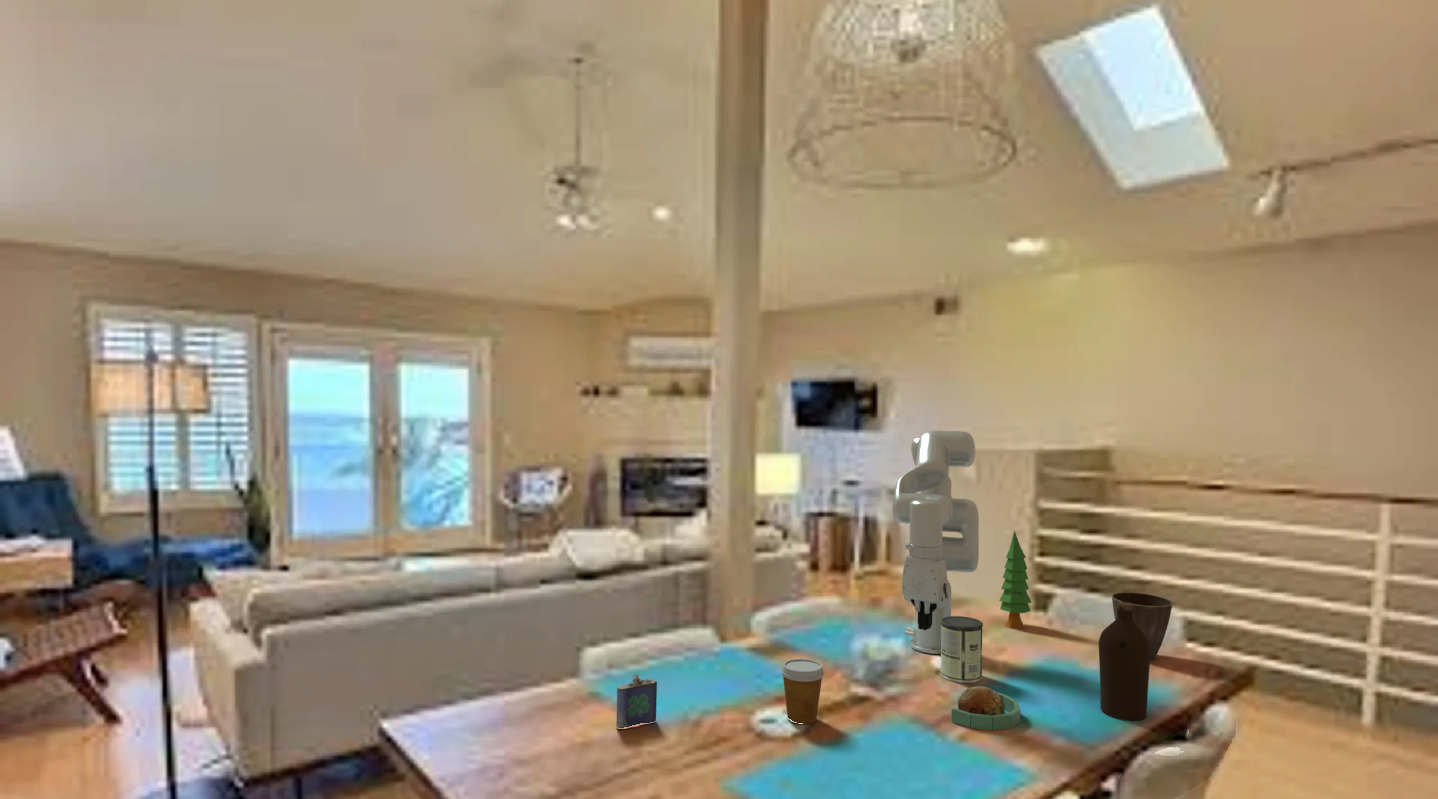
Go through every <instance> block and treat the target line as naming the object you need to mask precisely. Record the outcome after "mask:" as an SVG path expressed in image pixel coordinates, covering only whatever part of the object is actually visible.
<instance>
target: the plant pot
mask: <svg viewBox="0 0 1438 799" xmlns="http://www.w3.org/2000/svg"><path fill="white" fill-rule="evenodd" d="M1111 602H1112V609H1113V615H1114V621H1115V620H1116V618H1117V608H1118V606H1117V603H1118V602H1129V603H1132V604H1133V607H1132V610H1133V621H1134V622H1135V624H1136V625H1137V626H1138V627H1139V628H1140V629H1141V630H1142V631H1143V632H1144V634H1145V635H1146V636H1147V638H1148V640H1149V643H1150V647H1151V656H1150V661H1154V660H1155V659H1156V657H1157V655H1158V653H1159V651H1160V649H1161V646H1162V644H1163V642H1164V638H1165V635H1166V633H1167V629H1168V626H1169V622H1170V618H1171V614H1172V608H1173V603H1174V602H1172V600H1170V599H1168V598H1165V597H1164V596H1163V597H1162V596H1158V595H1155V594H1147V593H1140V592H1124V591H1123V592H1115V593H1113V594H1111Z"/></svg>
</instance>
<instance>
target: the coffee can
mask: <svg viewBox="0 0 1438 799" xmlns="http://www.w3.org/2000/svg"><path fill="white" fill-rule="evenodd" d="M983 626H984V623H983V621H981V620H979V619H977V618H974V617H971V616H970V617H969V616H960V615H959V616H958V615H955V616H954V615H953V616H952V615H951V616H950V617H945V618H942V619H941V654H940V676H941V677H942V678H943V679H945V680H946V681H947V680H948V681H950V682H954V683H960V684H961V683H962V684H975V683H979V682H981V681H982V679H983Z"/></svg>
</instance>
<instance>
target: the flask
mask: <svg viewBox="0 0 1438 799" xmlns="http://www.w3.org/2000/svg"><path fill="white" fill-rule="evenodd" d="M639 676H640V675H639V674H638V673H634V674H633V675H631V677H632V678H633V680H632V682H630V683H625V684H621V685H618V686H617V687H616V728H617V727H618V728H624V727H629V726H632V725H636V724H640V723H650V722H654V721H656V722H657V697H658V696H657V693H658V682H657V680H654V679H650V678H645V679H641V678H640V677H639Z"/></svg>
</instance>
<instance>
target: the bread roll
mask: <svg viewBox="0 0 1438 799" xmlns="http://www.w3.org/2000/svg"><path fill="white" fill-rule="evenodd" d="M996 692H997V691H995V690H993V689H992V688H990V687H986V686H983V685H981V686H972V687H968V688H966V689H965V690H963V692H962V693H961V694H960V696H959V697H958V700H957V709H959V710H962V711H965V712H969V713H973V714H983V715H999V714H1006V710H1005V709H1004V704H1003V701H1002V699H1001V697H1000V696H999V695H998V694H997V693H998V692H997V693H996Z"/></svg>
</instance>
